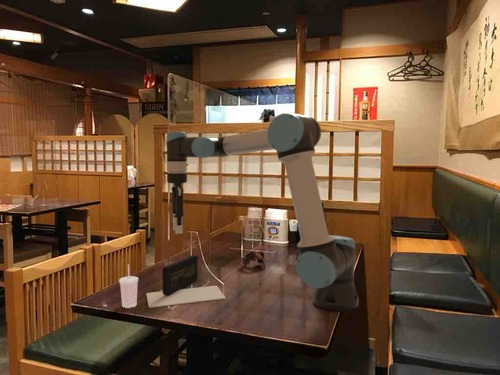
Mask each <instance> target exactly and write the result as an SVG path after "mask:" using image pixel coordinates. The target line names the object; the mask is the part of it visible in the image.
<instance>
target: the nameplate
mask: <svg viewBox="0 0 500 375" xmlns="http://www.w3.org/2000/svg"><path fill="white" fill-rule="evenodd" d="M198 258H199V257H198V255H193V254H191V255H189V256H187V257H185V258H182V259H179V260H177V261H175V262H172V263H170V264H168V265H166V266H164V267H163V268H162V270H161V271H162V291H163V294H164V295H171V294H173V293H174V292H176V291H178V290H180V289H185V287H187V286H189V285H190V284H192V283H195V282H196V281H197V280H198V279H199V274H198V273H199V270H198V268H199V266H198V265H199V264H198V260H199V259H198Z"/></svg>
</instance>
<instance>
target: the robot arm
mask: <svg viewBox="0 0 500 375" xmlns="http://www.w3.org/2000/svg"><path fill="white" fill-rule="evenodd" d="M321 136H322V129H321V125H320V124H319V122H318V121H317V120H316V119H315V118H314V117H312V116H310V115H306V114H304V115H303V114H299V113H295V112H284V113H280V114H278V115H276V116H275V117H274V118H273V119H272V120H271V122H270V123H269V125H268V127H267V129H261V130H255V131H254V130H253V131H250V132H244V133H237V134H231V135H227V136H220V137H219V136H218V137H208V136H187V133H186V132H185V131H168V132H167V133H166V142H165V145H166V172H167V174H166V180H167V183H168V184H172V187H171V203H172V205H171V211H172V230H173V231H174V232H175V235H179V234H181V235H182V234H183V233H184V232H183V228H184V227H183V225H184V224H183V217H184V216H185V215H184V188H183V187H182V184H185V183H187V182H188V173H186V172H187V171H188V170H187V169H188V166H189V164H188V162H187V161H188V160H187V158H197V159H198V158H199V159H204V158H205V159H206V158H225V157H228V156H235V155H241V154H250V153H255V152H256V153H258V152H265V151H272V150H275V151H276V154H277V159H278V161H279V162H281V163H282V164H283V165H284V168H285V173H286V177H287V181H288V182H287V183H288V186H289V190H290V195H291V199H292V204H293V208H294V213H295V217H296V218H295V220H296V223H297V227H298V228H297V229H298V232H299V237H300V240H299V242H298V243H297V246H296V247H297V252H298V254H299V255H298V258H297V260H296V263H295V271H296V274H297V276H298V278H299V279H300V280H301V282H302V283H304V284H305V285H306V286H307V287H309V288H312V289H314V292H313V296H312V297H313V298H312V299H313V300H312V302H313V304H314V303H315V304H316V305H315V304H314V305H315V306H316V307H318V306H319V308H320V307H321V308H320V309H323V308H324V309H323V310H326V309H328V310H327V311H331V310H335V311H334V312H348V311H353V310H356V309H357V308H359V295H358V292H357V289H356V286H355V282H354V280H355V255H356V254H355V253H356V241H355V240H354V239H353V238H351V237H348V236H341V235H333V234H332V235H331V234H329V231H328V227H327V223H326V218H325V213H324V208H323V204H322V200H321V194H320V191H319V187H318V182H317V176H316V173H315V168H314V165H313V164H314V162H313V156H314V155H315V153H316V149H315V147H316V146H317V145H318V143H319V142H320V140H321Z"/></svg>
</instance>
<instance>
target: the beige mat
mask: <svg viewBox="0 0 500 375" xmlns="http://www.w3.org/2000/svg"><path fill="white" fill-rule="evenodd" d="M145 294H146V295H145V296H146V300H147V305H148V308H149V309H153V308H162V307H170V306H178V305H187V304H194V303H203V302H204V303H205V302H211V301H212V302H213V301H221V300H222V301H223V300H226V297H225V294H224V293H223V292H222V291H221V289H220V288H219V286H217V285H210V286H201V287H200V286H199V287H191V288H190V287H189V288H182V289H180V290H178V291H176V292H174V293H173V294H171V295H164V294H163V290H161V291H154V292H147V293H145Z"/></svg>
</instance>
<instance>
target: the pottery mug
mask: <svg viewBox="0 0 500 375" xmlns="http://www.w3.org/2000/svg"><path fill="white" fill-rule="evenodd" d="M264 258H265V253H264V252H263V251H256V250H251V251H250V252H248V253H247V254H245V255H244V256H243V257H242V258H241V261H242V265H244V266H247V265H250V263H251V262H256V261H257V263H258V264H259V265H260V269H261V270H262V271H263V270H264V269H265V268H266V264H265V261H264Z"/></svg>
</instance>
